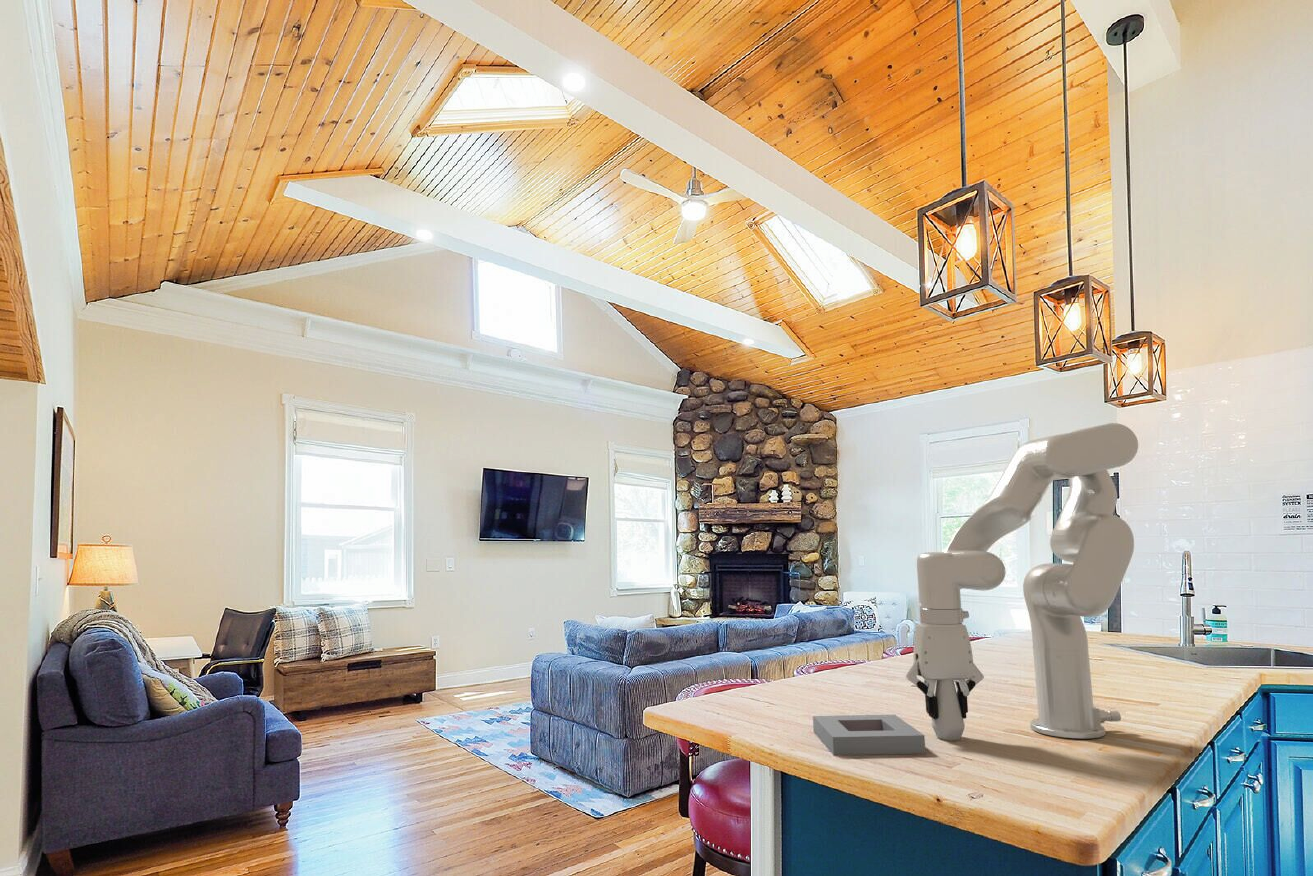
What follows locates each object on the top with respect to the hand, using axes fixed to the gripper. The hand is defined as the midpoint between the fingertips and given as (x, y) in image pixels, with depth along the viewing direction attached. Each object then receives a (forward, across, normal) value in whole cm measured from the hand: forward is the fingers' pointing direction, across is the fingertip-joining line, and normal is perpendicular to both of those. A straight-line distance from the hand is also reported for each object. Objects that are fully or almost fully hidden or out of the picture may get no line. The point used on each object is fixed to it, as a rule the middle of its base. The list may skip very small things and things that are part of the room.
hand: (947, 716), depth 141 cm
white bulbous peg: (+4, 0, 0) cm, 4 cm away
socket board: (+4, +16, +2) cm, 17 cm away
